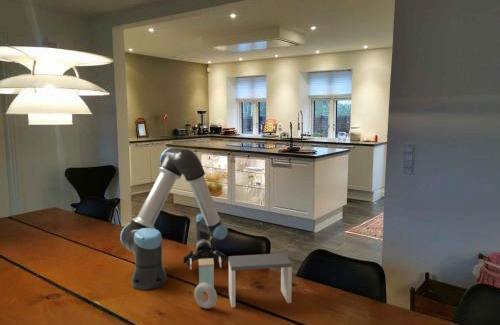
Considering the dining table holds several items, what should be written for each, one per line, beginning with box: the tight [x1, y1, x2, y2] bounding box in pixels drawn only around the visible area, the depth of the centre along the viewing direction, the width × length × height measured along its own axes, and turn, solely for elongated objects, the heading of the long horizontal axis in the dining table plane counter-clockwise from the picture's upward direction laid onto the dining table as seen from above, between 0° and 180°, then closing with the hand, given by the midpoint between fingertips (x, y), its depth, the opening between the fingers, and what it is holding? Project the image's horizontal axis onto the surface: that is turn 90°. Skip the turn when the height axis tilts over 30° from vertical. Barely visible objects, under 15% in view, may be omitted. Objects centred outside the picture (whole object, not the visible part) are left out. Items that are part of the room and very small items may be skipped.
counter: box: [228, 252, 293, 308], centre depth 147 cm, size 24×11×16 cm, turn 99°
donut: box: [193, 283, 218, 310], centre depth 139 cm, size 10×3×10 cm, turn 63°
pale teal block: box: [197, 258, 215, 289], centre depth 155 cm, size 6×6×12 cm
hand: (205, 265), depth 164 cm, fingers open, 13 cm apart
